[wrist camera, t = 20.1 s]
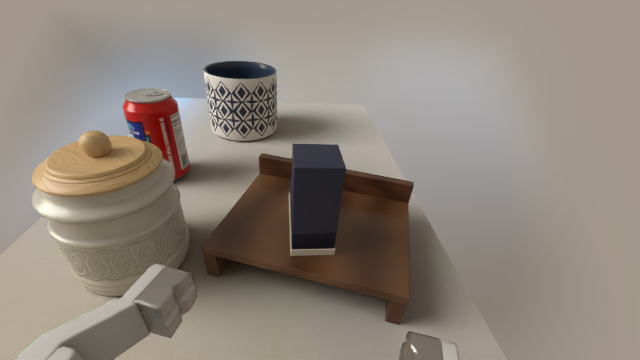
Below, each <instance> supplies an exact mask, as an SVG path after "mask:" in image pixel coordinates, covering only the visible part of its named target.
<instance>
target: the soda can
mask: <svg viewBox="0 0 640 360" xmlns="http://www.w3.org/2000/svg"><path fill="white" fill-rule="evenodd" d="M125 98H126V100H125V103H124V105H123V110H124V114H125V117H126V120H127V124H128V127H129V130H130V134H131V137H133V138H136V139H139V140H142V141H146V142H149V143H152V144H154V145H155V146H157V147H158V148H159V149H160V150H161V152H162V155H163V158H164V159H165V160H167V161H168V162H169V163H170V164H171V165H172V166H173V168H174V170H175V178H174V180H176V179H178V178H180V177H182V176H184V175H185V174H186V173H187V172H188V171H189V168H190V165H189V159H188V154H187V149H186V144H185V139H184V134H183V129H182V124H181V119H180V114H179V109H178V104H177V102H176V100H175V99H174V98H173V97H171V93H170V92H169V91H167V90H164V89H154V88H150V89H140V90H135V91H131V92H129V93H127V94H126V95H125Z"/></svg>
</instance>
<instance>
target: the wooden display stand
mask: <svg viewBox="0 0 640 360" xmlns="http://www.w3.org/2000/svg"><path fill="white" fill-rule="evenodd" d="M259 166H260V174H259V175H258V177H257V178H256V179H255V180H254V182H253V183H252V184H251V185H250V187H249V188H248V189H247V190H246V192H245V193H244V194H243V195H242V197H241V198H240V199H239V200H238V202H237V203H236V204H235V205H234V207H233V208H232V209H231V210H230V212H229V213H228V214H227V215H226V217H225V218H224V219H223V220H222V222H221V223H220V224H219V225H218V227H217V228H216V229H215V230H214V232H213V233H212V234H211V235H210V237H209V238H208V239H207V240H206V242H205V243H204V244H203V245H202V249H203V254H204V259H205V264H206V269H207V274H210V275H214V276H217V277H219V276H220V274H221V273H222V271H223V270H224V268H225V267H226V265H227V264H228V262H229V261H230V260H233V261H237V262H241V263H245V264H249V265H252V266H256V267H260V268H264V269H268V270H272V271H276V272H280V273H284V274H288V275H292V276H296V277H300V278H303V279H307V280H311V281H315V282H319V283H323V284H327V285H331V286H335V287H339V288H343V289H347V290H351V291H354V292H358V293H362V294H366V295H370V296H374V297H378V298H382V299H386V300H387V301H386V318H385V321H387V322H391V323H394V324H398V325H399V324H400V321H401V319H402V317H403V314H404V312H405V309H406V307H407V304H408V302H409V299H410V278H409V222H408V203H409V199H410V196H411V193H412V189H413V182H410V181H405V180H400V179H395V178H389V177H384V176H379V175H373V174H368V173H363V172H358V171H352V170H347V169H346V172H345V179H344V185H343V192H342V199H341V206H340V213H339V220H338V226H337V234H336V241H335V254H334V255H310V256H291V255H290V220H289V193H290V179H292V159H289V158H284V157H279V156H273V155H268V154H263V153H262V154H261V155H260V156H259Z"/></svg>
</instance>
